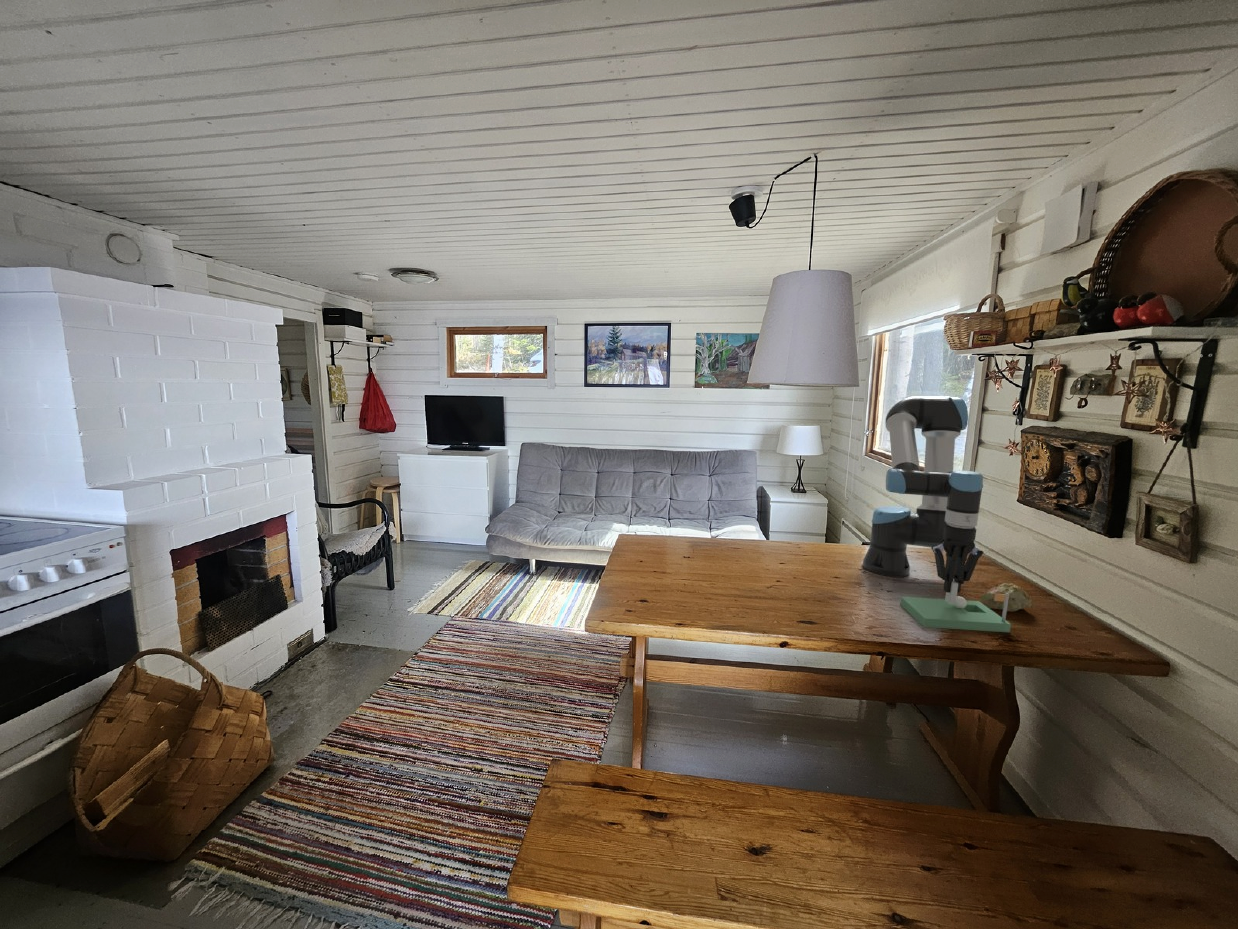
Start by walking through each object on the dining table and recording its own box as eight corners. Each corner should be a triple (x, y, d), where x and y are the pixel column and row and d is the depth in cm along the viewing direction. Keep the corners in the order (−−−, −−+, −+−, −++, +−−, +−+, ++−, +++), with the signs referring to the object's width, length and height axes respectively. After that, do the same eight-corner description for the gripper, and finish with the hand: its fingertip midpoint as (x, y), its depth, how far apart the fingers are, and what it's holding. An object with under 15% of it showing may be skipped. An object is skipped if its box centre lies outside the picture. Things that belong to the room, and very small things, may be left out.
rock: (992, 623, 142) (981, 597, 140) (980, 606, 149) (970, 581, 148) (1038, 614, 137) (1028, 587, 135) (1024, 597, 145) (1014, 571, 143)
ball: (962, 605, 137) (950, 606, 138) (961, 593, 137) (949, 594, 137) (970, 610, 134) (956, 611, 134) (969, 598, 133) (955, 599, 134)
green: (900, 604, 144) (903, 572, 142) (977, 608, 141) (981, 576, 139) (923, 626, 130) (927, 591, 128) (1009, 632, 127) (1015, 596, 125)
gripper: (942, 527, 129) (933, 606, 133) (993, 530, 128) (982, 610, 131) (928, 520, 137) (920, 595, 141) (976, 522, 135) (966, 598, 139)
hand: (950, 602), depth 136 cm, fingers closed
